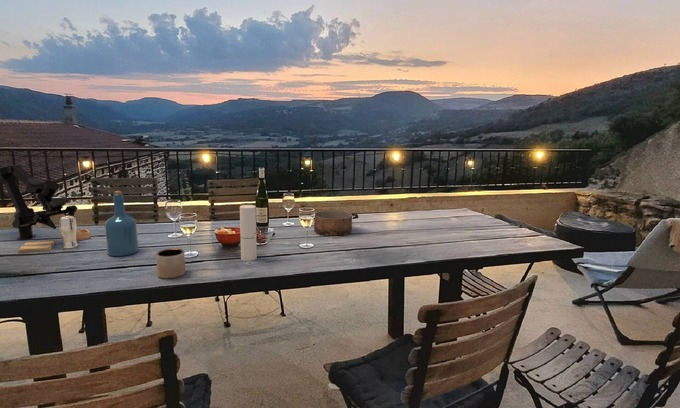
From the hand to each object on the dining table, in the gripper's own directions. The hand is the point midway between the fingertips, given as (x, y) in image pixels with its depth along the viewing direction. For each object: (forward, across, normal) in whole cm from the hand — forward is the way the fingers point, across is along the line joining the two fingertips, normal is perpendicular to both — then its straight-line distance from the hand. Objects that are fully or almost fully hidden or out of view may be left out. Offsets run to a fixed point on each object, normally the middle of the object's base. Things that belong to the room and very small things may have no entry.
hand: (65, 226), depth 195 cm
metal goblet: (+9, 0, +6) cm, 11 cm away
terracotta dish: (+1, +11, +13) cm, 17 cm away
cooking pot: (+84, +86, -68) cm, 138 cm away
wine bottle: (+31, +5, -16) cm, 35 cm away
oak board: (0, -8, +14) cm, 16 cm away
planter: (+60, -6, -45) cm, 75 cm away
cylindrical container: (+72, +25, -56) cm, 95 cm away
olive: (0, +11, +11) cm, 16 cm away
